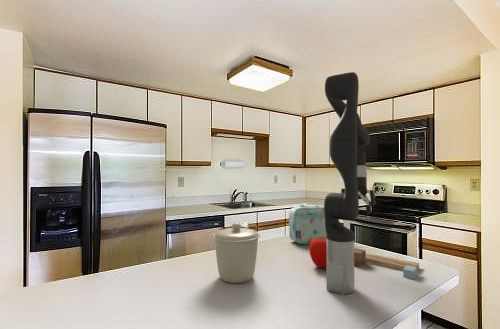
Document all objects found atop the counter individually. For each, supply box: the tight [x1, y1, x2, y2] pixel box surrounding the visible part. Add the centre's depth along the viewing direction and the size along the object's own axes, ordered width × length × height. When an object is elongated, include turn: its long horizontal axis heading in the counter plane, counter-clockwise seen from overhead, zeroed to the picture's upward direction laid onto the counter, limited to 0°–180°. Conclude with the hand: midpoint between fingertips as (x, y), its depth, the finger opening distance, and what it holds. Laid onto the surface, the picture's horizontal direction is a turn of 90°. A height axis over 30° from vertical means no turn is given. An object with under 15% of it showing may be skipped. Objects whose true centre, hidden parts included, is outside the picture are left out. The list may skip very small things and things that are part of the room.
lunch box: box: [288, 204, 326, 245], centre depth 156 cm, size 27×10×21 cm, turn 104°
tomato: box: [309, 237, 327, 269], centre depth 116 cm, size 11×11×13 cm
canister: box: [212, 222, 261, 284], centre depth 105 cm, size 18×18×21 cm
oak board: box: [366, 252, 420, 272], centre depth 120 cm, size 8×26×2 cm, turn 49°
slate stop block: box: [402, 265, 418, 280], centre depth 106 cm, size 6×4×3 cm, turn 139°
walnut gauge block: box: [354, 247, 367, 268], centre depth 119 cm, size 6×4×6 cm
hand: (357, 212), depth 120 cm, fingers open, 8 cm apart
